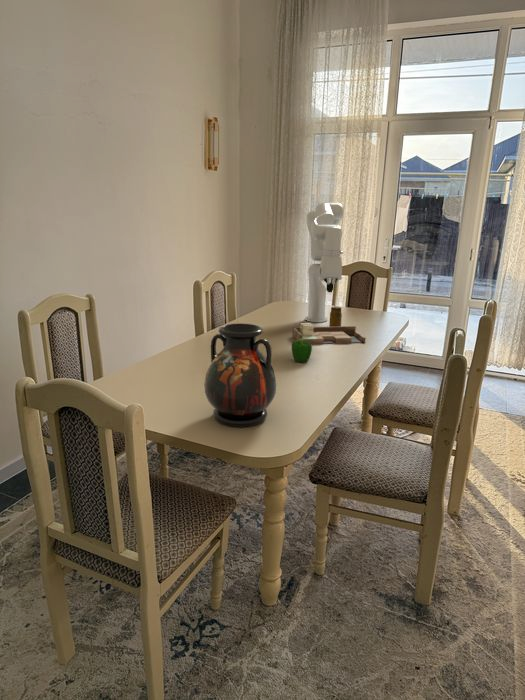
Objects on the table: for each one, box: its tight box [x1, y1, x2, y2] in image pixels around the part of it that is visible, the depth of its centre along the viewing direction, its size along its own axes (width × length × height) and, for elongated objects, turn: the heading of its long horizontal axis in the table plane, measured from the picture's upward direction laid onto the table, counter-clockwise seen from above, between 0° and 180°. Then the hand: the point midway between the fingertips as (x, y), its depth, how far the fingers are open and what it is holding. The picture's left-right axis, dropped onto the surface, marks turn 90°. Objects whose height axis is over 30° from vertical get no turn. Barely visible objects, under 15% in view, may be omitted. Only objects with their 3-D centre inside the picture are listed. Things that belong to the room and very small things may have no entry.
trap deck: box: [292, 325, 367, 345], centre depth 238 cm, size 15×32×4 cm, turn 100°
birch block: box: [300, 322, 315, 336], centre depth 237 cm, size 5×5×5 cm
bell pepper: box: [291, 339, 313, 363], centre depth 204 cm, size 8×8×10 cm
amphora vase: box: [203, 323, 277, 428], centre depth 146 cm, size 22×22×28 cm
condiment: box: [328, 306, 343, 327], centre depth 256 cm, size 7×8×12 cm
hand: (329, 291), depth 237 cm, fingers closed
